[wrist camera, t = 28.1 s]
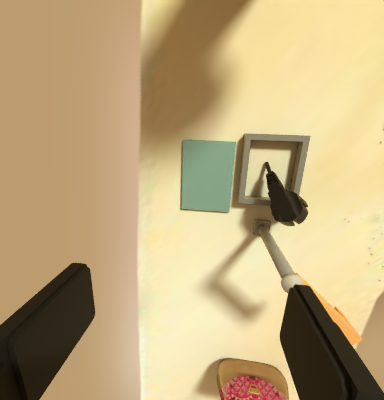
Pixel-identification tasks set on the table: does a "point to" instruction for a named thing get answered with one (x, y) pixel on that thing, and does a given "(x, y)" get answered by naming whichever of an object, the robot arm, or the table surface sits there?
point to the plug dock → (262, 225)
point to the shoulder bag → (250, 381)
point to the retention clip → (334, 313)
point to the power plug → (284, 201)
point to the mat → (207, 175)
